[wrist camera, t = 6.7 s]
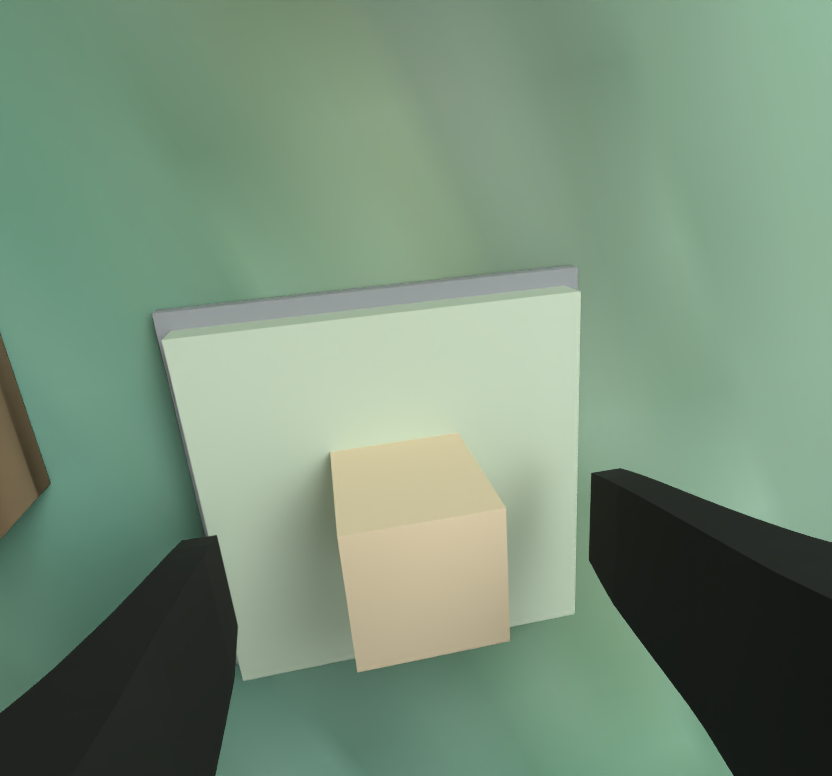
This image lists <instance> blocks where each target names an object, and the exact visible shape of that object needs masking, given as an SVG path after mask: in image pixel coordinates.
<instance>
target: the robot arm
mask: <svg viewBox="0 0 832 776" xmlns="http://www.w3.org/2000/svg"><path fill="white" fill-rule="evenodd" d="M589 561H590V563H591V565H592V567H593V569H594V570H595V572H596V574H597V576H598V578H599V580H600V582H601V584H602V585H603V587H604V589H605V591H606V592H607V594H608V596H609V597H610V599H611V601H612V603H613V604H614V606H615V607H616V608H617V610H618V611H619V613H620V614H621V615H622V617H623V618H624V619H625V621H626V622H627V624H628V625H629V626H630V628H631V629H632V630H633V632H634V633H635V634H636V636H637V637H638V638H639V640H640V641H641V642H642V644H643V645H644V646H645V648H646V649H647V650H648V652H649V653H650V654H651V656H652V657H653V658H654V660H655V661H656V662H657V664H658V665H659V666H660V668H661V669H662V670H663V672H664V673H665V674H666V676H667V677H668V678H669V680H670V681H671V682H672V684H673V685H674V686H675V688H676V689H677V690H678V692H679V693H680V694H681V696H682V697H683V698H684V700H685V701H686V702H687V704H688V705H689V707H690V708H691V710H692V711H693V712H694V714H695V715H696V717H697V718H698V720H699V721H700V723H701V724H702V725H703V727H704V728H705V730H706V731H707V733H708V735H709V736H710V738H711V740H712V741H713V743H714V745H715V746H716V748H717V749H718V751H719V753H720V754H721V756H722V758H723V759H724V761H725V762H726V764H727V766H728V767H729V769H730V771H731V772H732V774H733V775H734V776H832V542H828V541H824V540H821V539H817V538H814V537H810V536H807V535H804V534H801V533H797V532H794V531H791V530H788V529H785V528H782V527H779V526H776V525H773V524H770V523H767V522H765V521H762V520H759V519H756V518H753V517H750V516H747V515H745V514H742V513H739V512H736V511H734V510H731V509H728V508H726V507H723V506H720V505H718V504H715V503H713V502H710V501H707V500H705V499H702V498H700V497H697V496H695V495H692V494H690V493H687V492H684V491H682V490H679V489H677V488H674V487H672V486H669V485H667V484H664V483H662V482H659V481H656V480H654V479H651V478H648V477H646V476H643V475H640V474H637V473H634V472H631V471H628V470H624V469H621V468H619V469H613V470H607V471H601V472H595V473H591V503H590V538H589ZM237 635H238V623H237V619H236V615H235V611H234V606H233V602H232V598H231V593H230V589H229V585H228V580H227V576H226V572H225V568H224V563H223V559H222V555H221V550H220V546H219V542H218V537H217V535H213V536H207V537H201V538H195V539H189V540H183V541H181V542H180V543H179V544H178V545H177V546H176V547H175V548H174V549H173V550H172V551H171V552H170V553H169V554H168V555H167V556H166V557H165V558H164V559H163V560H162V561H161V562H160V563H159V565H158V566H157V567H156V568H155V569H154V570H153V571H152V572H151V573H150V574H149V575H148V576H147V577H146V578H145V579H144V581H143V582H142V583H141V584H140V585H139V586H138V587H137V588H136V589H135V590H134V591H133V592H132V593H131V594H130V595H129V596H128V597H127V598H126V599H125V600H124V601H123V602H122V603H121V604H120V605H119V606H118V607H117V609H116V610H115V611H114V612H113V613H112V614H111V615H110V616H109V617H108V618H107V619H106V620H105V621H103V622H102V623H101V624H100V625H99V626H98V627H97V628H96V629H95V630H94V631H93V632H92V633H91V634H90V635H89V636H88V637H87V638H86V639H85V640H83V641H82V642H81V643H80V644H79V645H78V646H77V647H76V648H75V649H74V650H73V651H72V652H71V653H70V654H69V655H68V656H67V657H66V658H65V659H63V660H62V661H61V662H60V663H59V664H58V665H57V666H56V667H55V668H54V669H52V670H51V671H50V672H49V673H48V674H47V675H46V676H45V677H43V678H42V679H41V680H40V681H39V682H38V683H36V684H35V685H34V686H33V687H32V688H31V689H29V690H28V691H27V692H26V693H25V694H23V695H22V696H21V697H20V698H18V699H17V700H16V701H15V702H13V703H12V704H11V705H10V706H9V707H7V708H6V709H5V710H4V711H2V712H1V713H0V776H215V774H216V769H217V764H218V759H219V754H220V750H221V745H222V740H223V735H224V730H225V725H226V720H227V715H228V709H229V704H230V699H231V694H232V689H233V683H234V676H235V664H236V651H237Z"/></svg>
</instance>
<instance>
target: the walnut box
mask: <svg viewBox="0 0 832 776" xmlns="http://www.w3.org/2000/svg"><path fill="white" fill-rule="evenodd" d="M49 485H50V480H49V477H48V474H47V471H46V468H45V465H44V462H43V459H42V456H41V453H40V450H39V447H38V444H37V442H36V439H35V436H34V433H33V430H32V427H31V424H30V421H29V418H28V415H27V412H26V409H25V406H24V403H23V400H22V397H21V394H20V391H19V388H18V385H17V382H16V379H15V376H14V373H13V370H12V367H11V364H10V361H9V358H8V355H7V352H6V349H5V347H4V344H3V341H2V338H1V335H0V539H1V538H2V537H3V536H4V535H5V533H6V532H7V531H8V530H9V529H10V528H11V527H12V526H13V525H14V523H15V522H16V521H17V520H18V519H19V518H20V517H21V516H22V515H23V513H24V512H25V511H26V510H27V509H28V508H29V507H30V506H31V505H32V503H33V502H34V501H35V500H36V499H37V498H38V497H39V496H40V495H41V493H42V492H43V491H44V490H45V489H46V488H47V487H48V486H49Z"/></svg>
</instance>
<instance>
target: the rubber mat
mask: <svg viewBox="0 0 832 776" xmlns="http://www.w3.org/2000/svg"><path fill="white" fill-rule="evenodd" d="M557 286H567V287H570V288H573V289H576V290H578V267H576V266H572V265H566V266H557V267H547V268H538V269H529V270H520V271H511V272H501V273H492V274H483V275H474V276H464V277H455V278H446V279H437V280H428V281H418V282H409V283H400V284H391V285H382V286H372V287H363V288H354V289H345V290H335V291H326V292H317V293H308V294H299V295H289V296H280V297H271V298H262V299H252V300H243V301H234V302H225V303H216V304H206V305H197V306H188V307H179V308H170V309H160V310H156V311H155V312H153V313H152V317H153V321H154V325H155V329H156V333H157V337H158V342H159V346H160V350H161V354H162V358H163V362H164V367H165V371H166V375H167V379H168V383H169V387H170V391H171V396H172V400H173V404H174V408H175V412H176V416H177V421H178V425H179V429H180V433H181V437H182V441H183V445H184V450H185V454H186V458H187V462H188V466H189V470H190V475H191V479H192V483H193V487H194V491H195V495H196V499H197V504H198V508H199V512H200V516H201V520H202V524H203V529H204V533H205V537H207V536H208V532H207V528H206V524H205V520H204V515H203V511H202V507H201V503H200V499H199V495H198V490H197V486H196V482H195V478H194V474H193V470H192V465H191V461H190V457H189V453H188V449H187V444H186V440H185V436H184V432H183V428H182V424H181V419H180V415H179V411H178V407H177V403H176V398H175V394H174V390H173V386H172V382H171V378H170V373H169V369H168V365H167V361H166V357H165V353H164V348H163V344H162V339H163V338H164V337H165V336H166V335H167V334H168V333H169V332H170V331H173V330H181V329H190V328H199V327H208V326H216V325H225V324H234V323H243V322H251V321H260V320H269V319H277V318H286V317H295V316H304V315H312V314H321V313H330V312H339V311H347V310H356V309H365V308H374V307H382V306H391V305H400V304H409V303H417V302H426V301H435V300H444V299H452V298H461V297H470V296H478V295H487V294H496V293H505V292H513V291H522V290H531V289H540V288H548V287H557ZM237 664H239V662H238V658H237V653H236V665H237Z"/></svg>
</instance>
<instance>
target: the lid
mask: <svg viewBox="0 0 832 776" xmlns="http://www.w3.org/2000/svg"><path fill="white" fill-rule="evenodd" d="M580 304H581V291H578V290H576V289H573V288H570V287H567V286H557V287H548V288H540V289H531V290H522V291H513V292H505V293H496V294H487V295H478V296H470V297H461V298H452V299H444V300H435V301H426V302H417V303H409V304H400V305H391V306H382V307H374V308H365V309H356V310H347V311H339V312H330V313H321V314H312V315H304V316H295V317H286V318H277V319H269V320H260V321H251V322H243V323H234V324H225V325H216V326H208V327H199V328H190V329H181V330H173V331H170V332H169V333H168V334H167V335H166V336H165V337H164V338H163V339H162V344H163V348H164V353H165V357H166V361H167V365H168V369H169V373H170V378H171V382H172V386H173V390H174V394H175V398H176V403H177V407H178V411H179V415H180V419H181V424H182V428H183V432H184V436H185V440H186V444H187V449H188V453H189V457H190V461H191V465H192V470H193V474H194V478H195V482H196V486H197V490H198V495H199V499H200V503H201V507H202V511H203V515H204V520H205V524H206V528H207V532H208V536H213V535H217V537H218V542H219V546H220V550H221V555H222V559H223V563H224V568H225V572H226V576H227V580H228V585H229V589H230V593H231V598H232V602H233V606H234V611H235V615H236V619H237V623H238V635H237V651H236V653H237V658H238V662H239V666H240V670H241V674H242V678H243V681H246V680H251V679H256V678H261V677H266V676H271V675H276V674H280V673H285V672H290V671H295V670H300V669H305V668H310V667H315V666H320V665H325V664H330V663H335V662H340V661H345V660H350V659H354V658H355V660H356V666H357V673H358V672H363V671H367V670H372V669H377V668H382V667H387V666H392V665H396V664H401V663H406V662H411V661H416V660H421V659H426V658H430V657H435V656H440V655H445V654H450V653H455V652H459V651H464V650H469V649H474V648H479V647H484V646H489V645H493V644H498V643H503V642H508V641H510V627H512V626H517V625H522V624H527V623H532V622H537V621H542V620H547V619H552V618H557V617H562V616H567V615H572V614H575V572H576V519H577V465H578V411H579V358H580Z"/></svg>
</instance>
